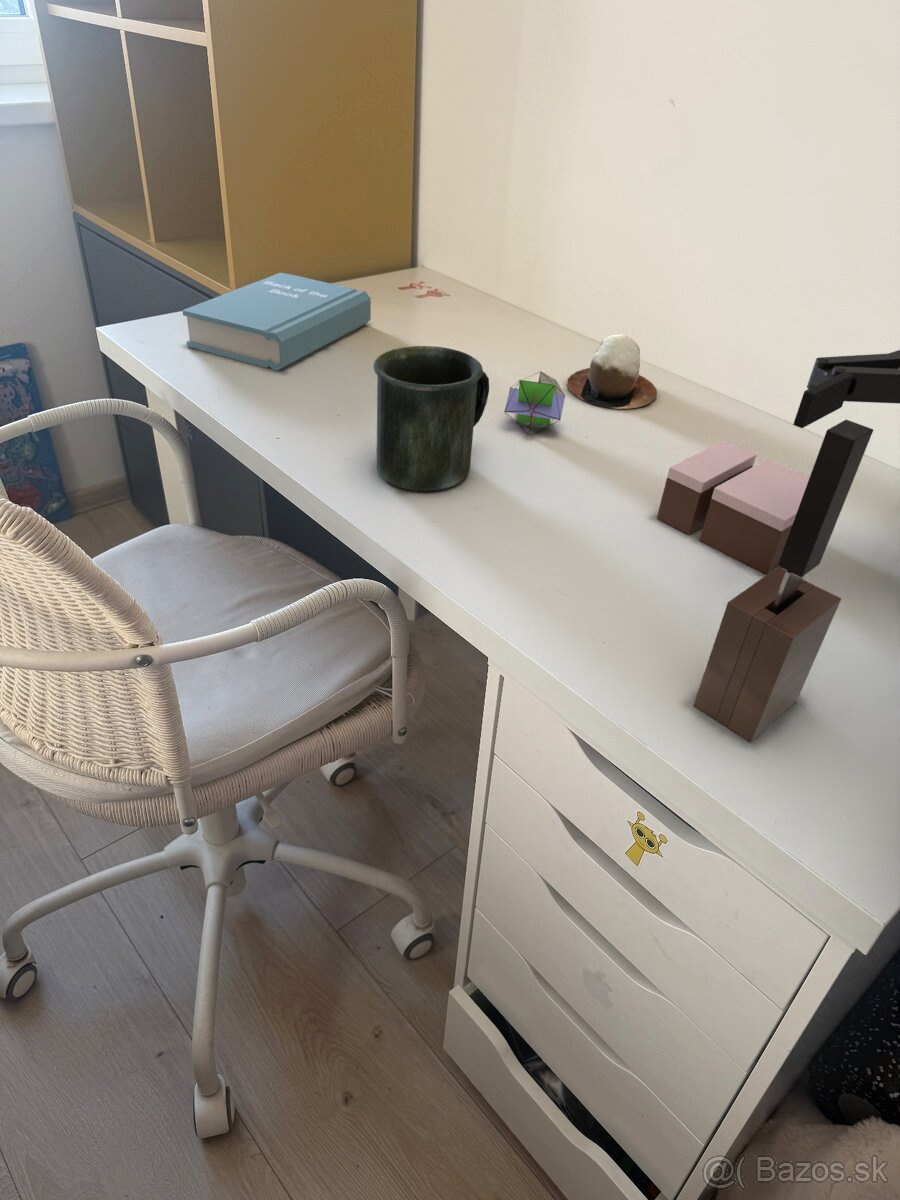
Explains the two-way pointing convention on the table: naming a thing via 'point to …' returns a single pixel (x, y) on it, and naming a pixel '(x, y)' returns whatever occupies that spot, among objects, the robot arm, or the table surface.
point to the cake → (755, 514)
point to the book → (276, 319)
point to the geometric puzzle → (536, 401)
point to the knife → (820, 506)
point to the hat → (614, 376)
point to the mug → (427, 415)
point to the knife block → (763, 654)
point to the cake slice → (699, 484)
